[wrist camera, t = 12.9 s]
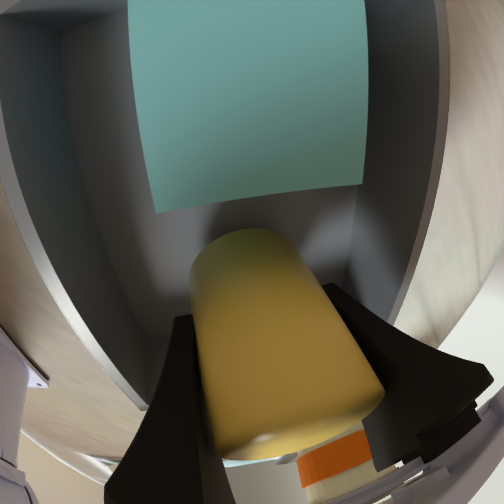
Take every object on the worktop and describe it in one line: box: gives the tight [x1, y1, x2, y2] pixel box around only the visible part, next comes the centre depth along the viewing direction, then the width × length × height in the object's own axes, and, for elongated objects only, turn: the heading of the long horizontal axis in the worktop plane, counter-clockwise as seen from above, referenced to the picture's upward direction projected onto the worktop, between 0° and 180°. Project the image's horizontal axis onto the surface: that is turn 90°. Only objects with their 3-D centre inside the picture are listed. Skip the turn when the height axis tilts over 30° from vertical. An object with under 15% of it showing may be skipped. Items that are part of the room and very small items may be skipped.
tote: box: [0, 0, 450, 411], centre depth 10 cm, size 17×13×5 cm
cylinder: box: [188, 228, 385, 460], centre depth 9 cm, size 5×5×7 cm
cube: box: [128, 0, 368, 214], centre depth 7 cm, size 5×5×5 cm
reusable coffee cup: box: [297, 421, 404, 504], centre depth 27 cm, size 13×13×15 cm
